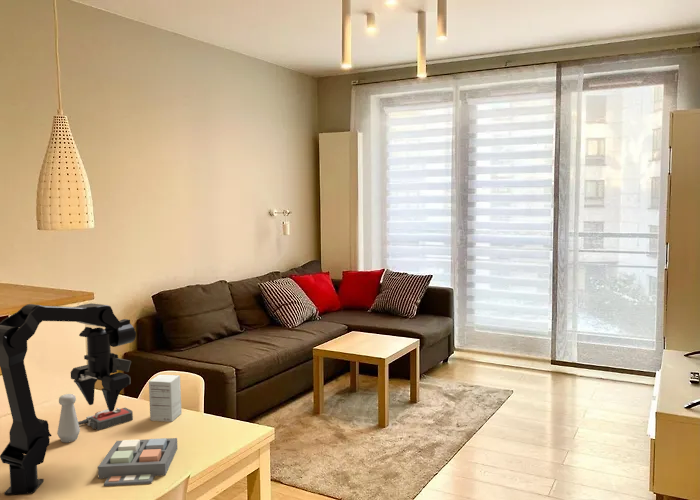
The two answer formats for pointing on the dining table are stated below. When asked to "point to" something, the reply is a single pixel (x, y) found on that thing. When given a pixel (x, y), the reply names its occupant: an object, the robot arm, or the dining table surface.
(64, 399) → the salt shaker
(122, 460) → the key sage
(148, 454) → the key terracotta
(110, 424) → the walkie-talkie
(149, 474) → the keypad
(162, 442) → the key slate
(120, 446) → the key offwhite
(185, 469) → the dining table surface
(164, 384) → the supplement box
